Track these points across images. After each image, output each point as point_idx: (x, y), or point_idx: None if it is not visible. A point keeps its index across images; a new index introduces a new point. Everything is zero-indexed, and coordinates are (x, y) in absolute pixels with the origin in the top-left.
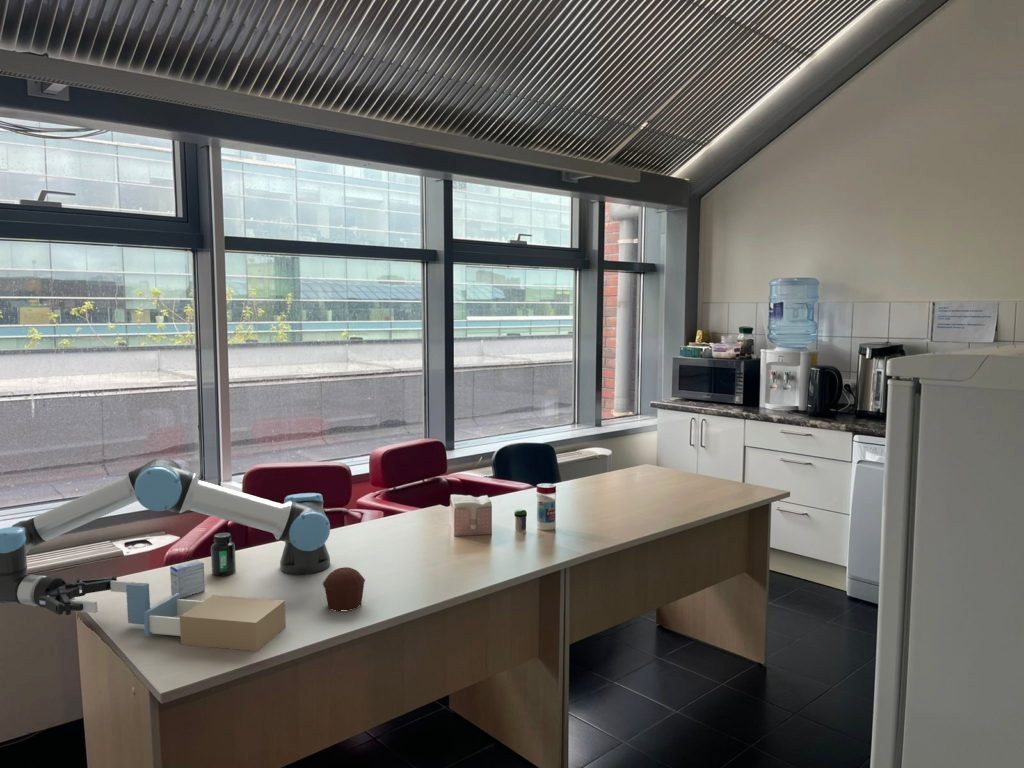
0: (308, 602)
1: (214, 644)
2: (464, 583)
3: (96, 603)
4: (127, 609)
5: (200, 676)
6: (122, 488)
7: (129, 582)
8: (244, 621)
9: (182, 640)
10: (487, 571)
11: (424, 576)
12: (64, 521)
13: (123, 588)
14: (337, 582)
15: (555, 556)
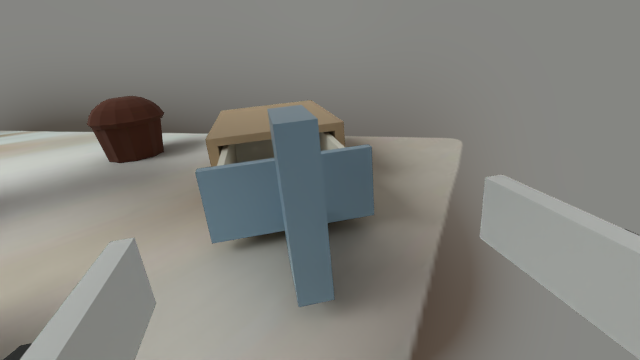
0: (115, 173)
1: None
2: (75, 137)
3: (488, 187)
4: (328, 243)
5: (406, 139)
6: None
7: (113, 256)
8: (313, 102)
9: None
10: (34, 140)
11: (26, 154)
12: None
13: (120, 338)
14: (154, 105)
15: (3, 134)
